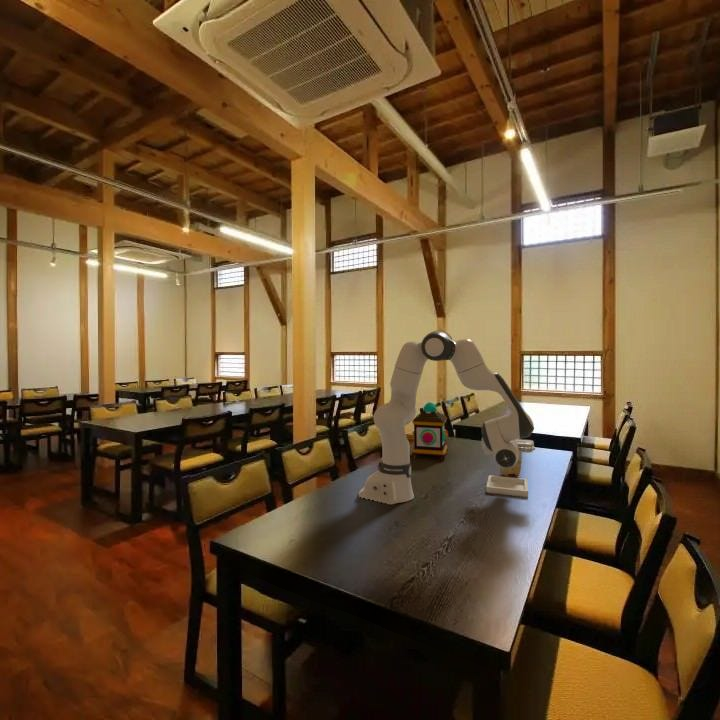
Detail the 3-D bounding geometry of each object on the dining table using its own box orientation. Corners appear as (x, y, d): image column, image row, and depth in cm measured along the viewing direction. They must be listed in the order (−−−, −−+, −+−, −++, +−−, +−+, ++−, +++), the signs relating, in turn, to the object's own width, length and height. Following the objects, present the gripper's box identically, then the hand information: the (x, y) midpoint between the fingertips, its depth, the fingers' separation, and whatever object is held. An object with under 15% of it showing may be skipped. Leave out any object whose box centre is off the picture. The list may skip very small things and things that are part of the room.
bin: (486, 492, 168) (486, 486, 168) (488, 480, 183) (488, 475, 183) (528, 497, 162) (528, 491, 162) (527, 484, 177) (527, 478, 177)
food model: (498, 476, 188) (498, 433, 187) (500, 472, 194) (500, 431, 193) (521, 479, 184) (521, 435, 183) (522, 475, 190) (522, 432, 189)
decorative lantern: (415, 450, 237) (415, 399, 236) (450, 452, 231) (450, 400, 230) (409, 459, 218) (408, 404, 217) (446, 462, 212) (446, 405, 211)
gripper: (535, 441, 156) (534, 434, 169) (480, 438, 163) (482, 431, 176) (535, 458, 156) (534, 449, 169) (480, 454, 163) (483, 446, 176)
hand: (507, 440), depth 172 cm, fingers closed on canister, 5 cm apart
